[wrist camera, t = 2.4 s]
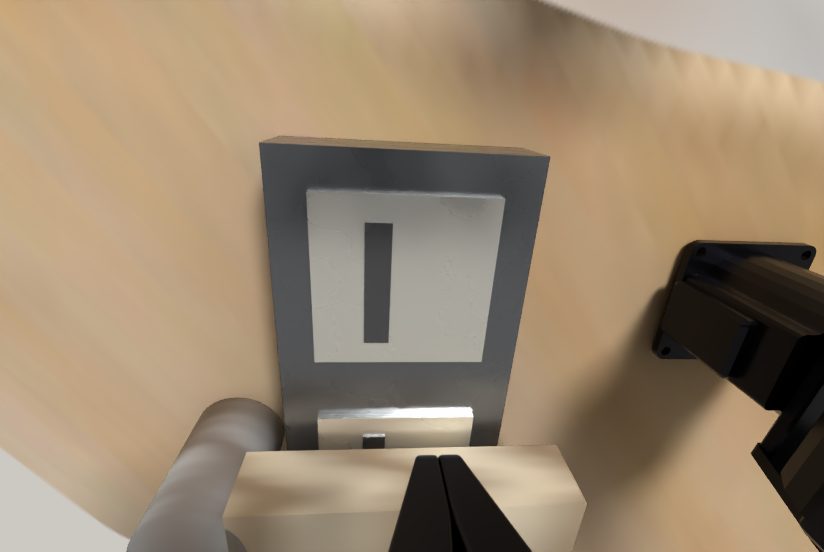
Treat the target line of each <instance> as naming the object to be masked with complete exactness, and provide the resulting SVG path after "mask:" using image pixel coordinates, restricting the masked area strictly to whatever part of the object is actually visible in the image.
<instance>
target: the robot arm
mask: <svg viewBox="0 0 824 552" xmlns="http://www.w3.org/2000/svg"><path fill="white" fill-rule="evenodd" d="M699 249H700V251H699V253H697V254H696V252H697V250H699ZM815 255H816V248H815V247H813V246H810V245H807V244H804V243H781V242H747V241H713V240H696V241H693V242H691V243H690V244H689V245H688V246H687V248H686V250H685V252H684V255H683V258H682V261H681V264H680V267H679V270H678V273H677V276H676V279H675V282H674V285H673V288H672V290H671V293H670V296H669V299H668V302H667V305H666V308H665V311H664V314H663V317H662V320H661V323H660V326H659V328H658V331H657V334H656V337H655V340H654V343H653V346H652V351H653V353H654V354H655V355H656V356H657V357H659V358H661V359H699V360H700V361H701V362H702V363H704V364H705V365H706V366H707V367H709V368H710V369H711V370H712V371H714V372H715V373H716V374H717V375H719V376H720V377H722V378H726V379H727V380H728V381H730V382H731V383H732V384H733V385H735V386H736V387H737V388H739V389H740V390H741V391H742V392H744V393H745V394H746V395H747V396H749V397H750V398H751V399H753V400H754V401H755V402H756V403H758V404H759V405H760V406H761V407H763V408H764V409H765V410H774V411H775V412H776V413H778V414H779V417H778V418H777V420H776V421H775V423H774V424H773V426H772V427H771V429H770V430H769V432H768V433H767V435H766V436H765V438H764V439H763V441H762V442H761V443H757V445H756V446H755V448H754V449H753V451H752V452H751V455H752V456H753V458H754V459H755V461H756V462H757V463H758V465H759V466H760V468H761V469H762V471H763V472H764V474H765V475H766V476H767V478H768V479H769V481H770V482H771V484H772V485H773V487H774V488H775V489H776V491H777V492H778V494H779V495H780V497H781V498H782V500H783V501H784V503H785V504H786V505H787V507H788V508H789V510H790V511H791V513H792V514H793V516H794V517H795V518H796V520H797V521H798V523H799V524H800V526H801V528H802V530H803V531H804V533H805V534H806V535H807V536H808V537H809V539H810V540H811V542H812V543H813V544H814V545H815V547H816V548H817V549H818V550H819V552H824V276H823V275H820V274H817V273H815V272H812V271H810V270H809V268H810V266H811V264H812V262H813V260H814V257H815ZM663 348H664V349H663ZM662 349H663V350H662ZM388 552H532V551H531V549H530V548H529V547H528V545H527V544H526V543H525V541H524V540H523V539H522V537H521V536H520V535H519V533H518V532H517V531H516V529H515V528H514V527H513V525H512V524H511V523H510V521H509V520H508V519H507V517H506V516H505V515H504V513H503V512H502V511H501V509H500V508H499V507H498V505H497V504H496V503H495V501H494V500H493V499H492V497H491V496H490V495H489V493H488V492H487V491H486V489H485V488H484V487H483V485H482V484H481V483H480V481H479V480H478V479H477V477H476V476H475V475H474V473H473V472H472V471H471V469H470V468H469V467H468V465H467V464H466V463H465V461H464V460H463V459H462V457H461V456H459V455H457V454H450V455H440V456H439V457H437V456H436V455H418V456H417V457H416V458H415V461H414V465H413V468H412V472H411V475H410V478H409V482H408V485H407V489H406V492H405V495H404V499H403V502H402V506H401V509H400V512H399V516H398V519H397V522H396V526H395V529H394V533H393V536H392V539H391V543H390V546H389V550H388Z"/></svg>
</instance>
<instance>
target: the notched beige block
mask: <svg viewBox="0 0 824 552" xmlns="http://www.w3.org/2000/svg"><path fill="white" fill-rule="evenodd" d="M283 437H284V428H283V424H282V421H281V420H280V418H279V417H278V415H277V414H276V413H275V412H274V411H273V410H272V409H271V408H269V407H268V406H266V405H264V404H262V403H260V402H258V401H255V400H251V399H246V398H229V399H224V400H220V401H218V402H215V403H214V404H212V405H210V406H209V407H208V408H206V409H205V411H204V412H203V413H202V414H201V416H200V418H199V420H198V421H197V423H196V425H195V427H194V428H193V430H192V432H191V434H190V436H189V437H188V439H187V441H186V443H185V444H184V446H183V448H182V450H181V451H180V453H179V455H178V457H177V459H176V460H175V462H174V464H173V466H172V467H171V469H170V471H169V473H168V474H167V476H166V478H165V480H164V482H163V483H162V485H161V487H160V489H159V490H158V492H157V494H156V496H155V497H154V499H153V501H152V503H151V505H150V506H149V508H148V510H147V512H146V513H145V515H144V517H143V519H142V520H141V522H140V524H139V526H138V528H137V529H136V531H135V533H134V535H133V536H132V538H131V540H130V542H129V544H128V547H127V552H388V550H389V546H390V543H391V539H392V536H393V533H394V529H395V526H396V522H397V519H398V516H399V512H400V509H401V506H402V502H403V499H404V495H405V492H406V489H407V485H408V482H409V478H410V475H411V472H412V468H413V465H414V461H415V458H416V457H417V456H418V455H436V456H437V457H439V456H440V455H450V454H457V455H459V456H461V457H462V459H463V460H464V461H465V463H466V464H467V465H468V467H469V468H470V469H471V471H472V472H473V473H474V475H475V476H476V477H477V479H478V480H479V481H480V483H481V484H482V485H483V487H484V488H485V489H486V491H487V492H488V493H489V495H490V496H491V497H492V499H493V500H494V501H495V503H496V504H497V505H498V507H499V508H500V509H501V511H502V512H503V513H504V515H505V516H506V517H507V519H508V520H509V521H510V523H511V524H512V525H513V527H514V528H515V529H516V531H517V532H518V533H519V535H520V536H521V537H522V539H523V540H524V541H525V543H526V544H527V545H528V547H529V548H530V549H531V551H532V552H572V549H573V546H574V543H575V540H576V537H577V534H578V531H579V528H580V525H581V522H582V519H583V516H584V513H585V510H586V507H587V502H586V500H585V498H584V496H583V494H582V492H581V491H580V489H579V487H578V485H577V483H576V481H575V479H574V477H573V475H572V473H571V472H570V470H569V468H568V466H567V464H566V462H565V460H564V458H563V456H562V454H561V453H560V451H559V449H558V447H557V445H528V446H484V447H439V448H395V449H350V450H306V451H280V448H281V445H282V441H283Z"/></svg>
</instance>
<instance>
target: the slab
mask: <svg viewBox="0 0 824 552" xmlns="http://www.w3.org/2000/svg"><path fill="white" fill-rule="evenodd" d="M259 147H260V158H261V169H262V180H263V191H264V202H265V213H266V224H267V235H268V246H269V257H270V268H271V279H272V290H273V301H274V312H275V323H276V334H277V345H278V356H279V367H280V378H281V389H282V400H283V411H284V422H285V433H286V444H287V451H306V450H350V449H395V448H439V447H484V446H497V444H498V439H499V433H500V428H501V422H502V417H503V411H504V406H505V401H506V395H507V390H508V384H509V379H510V373H511V368H512V363H513V357H514V352H515V346H516V341H517V335H518V330H519V324H520V319H521V314H522V308H523V303H524V297H525V292H526V286H527V281H528V275H529V270H530V265H531V259H532V254H533V248H534V243H535V237H536V232H537V227H538V221H539V216H540V210H541V205H542V199H543V194H544V188H545V183H546V178H547V172H548V167H549V161H550V156H546V155H543V154H540V153H537V152H533V151H530V150H527V149H523V148H510V147H490V146H471V145H451V144H431V143H411V142H392V141H372V140H352V139H332V138H313V137H293V136H277V137H274V138H271V139H268V140H265V141H262V142H259Z"/></svg>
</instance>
